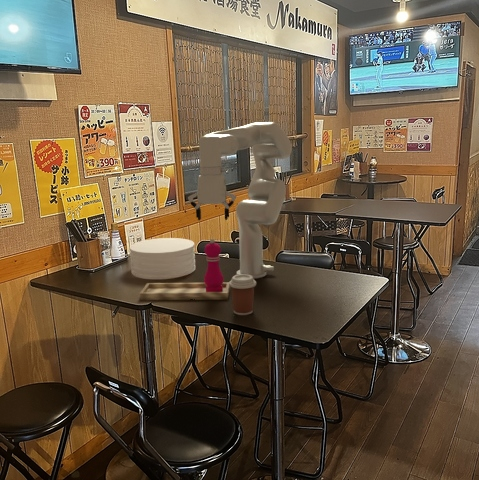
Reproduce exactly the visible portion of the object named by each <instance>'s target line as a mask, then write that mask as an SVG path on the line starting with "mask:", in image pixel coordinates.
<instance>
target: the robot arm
mask: <svg viewBox="0 0 479 480" xmlns="http://www.w3.org/2000/svg"><path fill="white" fill-rule="evenodd" d="M198 147H199V148H198V150H199V152H198V153H199V166H200V167H199V170H200V171H199V173H200V175H198V178H197V191H196V192H195V193H192V194H190V195H189V196H188V197H187V200H188V201H189V203H190V205H191V206H192V207H193V209H195V216H196V218H197V221H201V219H202V210H201V206H202V205H221V204H222V205H223V207H224V220H225V221H227V220H228V218H230V208H231V207H232V206H233V205H234V203H235V201H236V199H237V196H236V194H233V193H232V192H230V191H227V185H226V179H225V175H224V174H223V173H226V171H227V169H226V167H223V166H222V157H230V156H233V155H235V154H236V153H237V152H238V151H240V150H241V151H242V150H245V149H249V148H251V147H252V153H253V159H254V163H255V164H254V165H255V170H254V173H253V175H252V178H251V181H250V183H249V185H248V189H247V196H248V198H249V199H243V200H241V201H239V202H238V203H237V206H236V207H235V214H236V218H237V223H238V232H239V233H238V234H239V235H238V238H239V245H238V247H239V270H237V271H236V275H240V274H246V275H251V276H252V277H253V279H254V280H255V279H261V278H263V277H265V276H267V272H274V267H275V266H274V265H273V266H271V265H270V264H269V265H265V264H264V262H263V259H264V258H263V255H264V254H263V253H264V252H263V231H262V229H261V227H260V225H265V226H267V225H269V226H270V225H273V224H275V223H276V222H277V220H278V218H279V215H280V214H281V209H282V207H283V206H284V205H283V204H284V201H285V198H286V194H287V188H286V184H285V182H284V181H283V180H282V179H278V178H275V176H276V171H275V167H274V166H273V165H272V163H271V160H273V159H274V160H284V159H288V158H289V157H290V156H291V154H292V151H293V146H292V142H291V141H290V138H289V137H288V135H287V134H286V133H285V131H284V130H283V128H282V127H281V126H280V125H279V124H278V123H277V122H274V121H268V122H267V121H265V122H253V123H249V124H245V125H242V126H239V127H233V128H230V129H229V128H228V129H226V130H220V131H215V132H211V133H207V134H205V135H202V136H201V137H199V140H198ZM196 197H197V202H195V201H194V198H196ZM227 197H229V198H231V200H229V202H228V201H227Z"/></svg>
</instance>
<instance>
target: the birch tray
mask: <svg viewBox="0 0 479 480" xmlns="http://www.w3.org/2000/svg"><path fill="white" fill-rule="evenodd" d="M229 282H230V281H229ZM229 282H225V281H223V283H222V284H221V285H222V286H223V291H222V292H206V286H207V285H206V284H205V282H147V283H146V284H145V285H144V287H143V288H142V289H141V290H140V292H139V294H138V295H139V300H140V301H165V300H166V301H169V300H170V301H175V300H178V301H179V300H180V301H183V300H185V301H186V300H188V301H189V300H190V299H193V300H192V301H194V299H195V300H198V301H199V300H200V301H201V300H228V299H229V294H230V291H231V287H230V286H229ZM190 301H191V300H190Z"/></svg>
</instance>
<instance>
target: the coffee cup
mask: <svg viewBox="0 0 479 480" xmlns="http://www.w3.org/2000/svg"><path fill="white" fill-rule="evenodd" d="M229 286H230V291H231V299H232V308H233V313H234V314H235V315H238V316H248V315H251V314H252V313H253V311H254V296H255V295H254V294H255V287H256V286H257V281H256V280H255V279H253V277H252V276H251V275H246V274H240V275H237V274H235V275H233V276H232V277H231V279H230V281H229Z"/></svg>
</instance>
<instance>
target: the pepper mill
mask: <svg viewBox="0 0 479 480" xmlns="http://www.w3.org/2000/svg"><path fill="white" fill-rule="evenodd" d="M215 240H216V239H214V238H210V239H209V243H207V244H205V247H204V254H205V255H206V256H205V258H206V259H205V260H206V261H207V268H206V272H205V274H204V278H203V280H204V281H203V283H205V284H206V285H207V286H206V292H222V291H223V286H222V285H221V284H222V283H223V282H225V281H224V280H225V278H224V275H223V273H222V271H221V268H220V264H219V262H220V259H221V258H220V257H221V256H220V254H221V252H222V249H221V246H220V245H219V244H218V243H217V242H216V241H215Z"/></svg>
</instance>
